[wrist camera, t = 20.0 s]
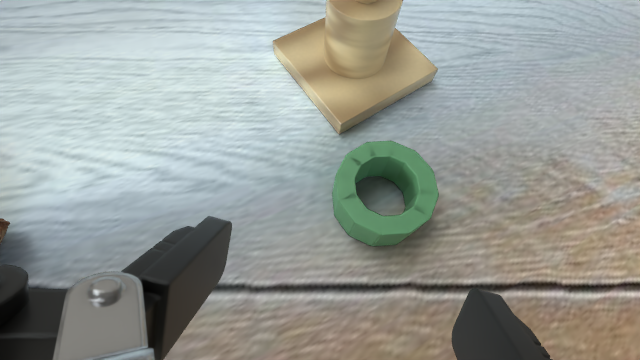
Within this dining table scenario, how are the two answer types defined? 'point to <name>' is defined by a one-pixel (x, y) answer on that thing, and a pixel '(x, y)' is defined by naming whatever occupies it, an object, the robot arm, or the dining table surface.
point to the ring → (398, 168)
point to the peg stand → (354, 60)
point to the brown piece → (3, 228)
